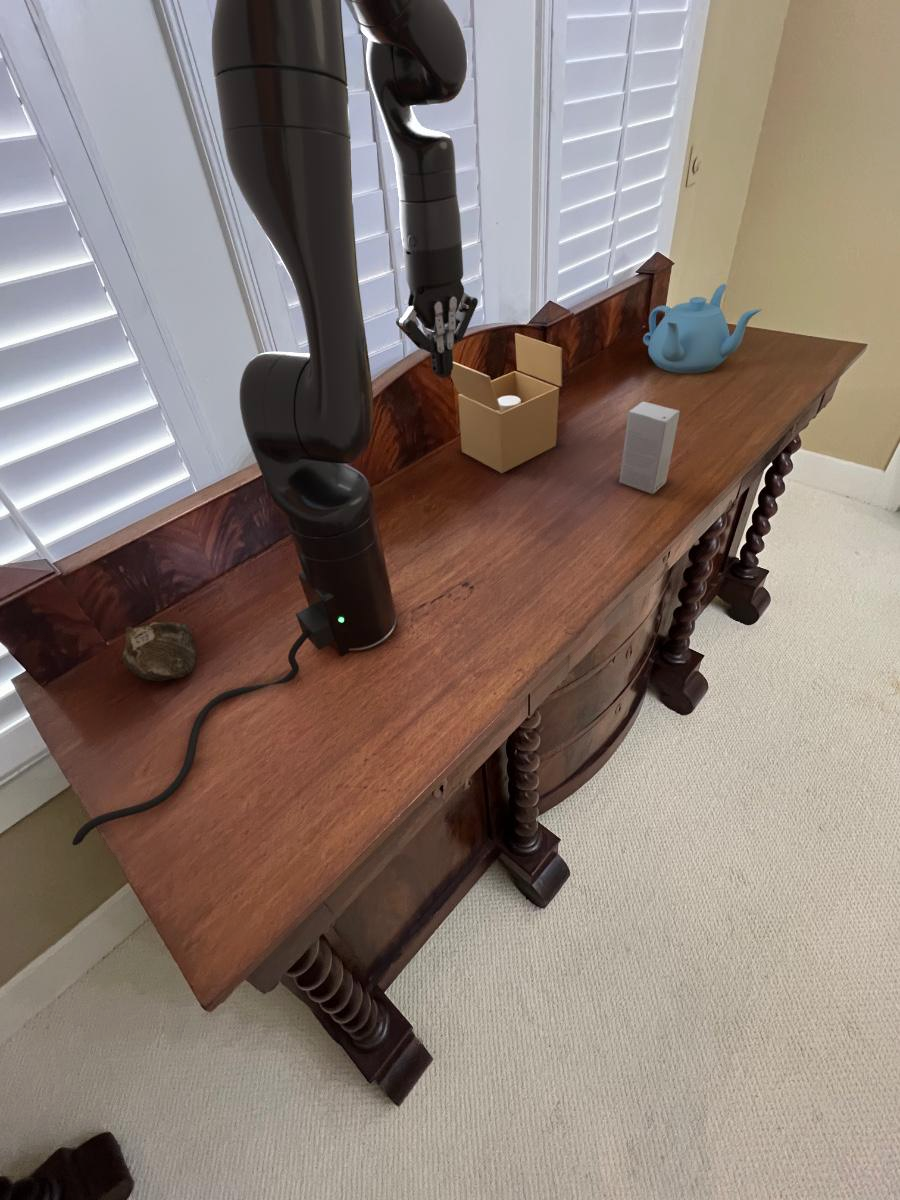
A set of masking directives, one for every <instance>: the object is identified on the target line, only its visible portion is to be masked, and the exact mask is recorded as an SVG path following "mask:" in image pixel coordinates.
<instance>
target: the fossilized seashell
mask: <svg viewBox="0 0 900 1200" xmlns="http://www.w3.org/2000/svg"><path fill="white" fill-rule="evenodd" d="M188 626H189V625H188V624H187V623H183V622H174V621H171V622H170V621H165V622H164V621H163V622H157V621H153V622H151V623H149V625H144V626H143V625H142V626H138V627H134V628H133V627H132V626H127V627H125V647H124V650H123V653H122V656H121V660H122V661H123V664H124V665H125V666H126V667H127V668H128V670H130V672H132V673H133V674H134V675H135V676H137V677H138V678H141V679H144V680H146V681H153V682H163V681H169V680H173V679H174V680H175V679H176V680H177V679H179V678H182V677H184V676H187V675H188V674H190V673H191V672H192V671H193V669H194V668H195V666H196V662H197V648H196V644H195V639H194V636H193V634H192V631H191V630H190V628H189V627H188Z"/></svg>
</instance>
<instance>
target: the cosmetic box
mask: <svg viewBox="0 0 900 1200" xmlns="http://www.w3.org/2000/svg"><path fill="white" fill-rule="evenodd" d="M680 413H681V412H680V409H675V408H670V407H666V406H662V405H659V404H655V403H651V402H648V401H641V402H640V403H639V404H637V405H635V406H634V407H632V408H631V409H630V410H629V411H628V414H627V421H626V429H625V436H624V444H623V452H622V459H621V465H620V473H619V481H618V482H619V484H622V485H626V486H628V487H631V488H633V489H636V490H639V491H642V492H645V493H648V494H650V495H654V494H655V493H657V491H658V490H659V489H661V488H662V487H663V486H664V485H666V483H667V479H668V473H669V470H670V469H669V468H670V464H671V459H672V453H673V449H674V443H675V437H676V434H677V429H678V423H679V419H680V418H679V417H680Z"/></svg>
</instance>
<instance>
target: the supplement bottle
mask: <svg viewBox="0 0 900 1200" xmlns="http://www.w3.org/2000/svg"><path fill="white" fill-rule="evenodd" d="M498 402H499V405H500V408H501V410H500V411H499V410H497V411H498V412H501V413H502V412H504V411H506V410H508V409H510V408H513V407H515V406H517V405H519V404H521V400H520V398H519V397H516V396H503V397H500V398H499V399H498Z"/></svg>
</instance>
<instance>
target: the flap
mask: <svg viewBox="0 0 900 1200" xmlns="http://www.w3.org/2000/svg"><path fill="white" fill-rule="evenodd" d="M451 372H452V374H451V375H450V377H451V380H452V383H453V385H454V387H455V391H456V392H457V393H459V394H464V395H466V396H468V397H470V398H472V399H475V400H477V401H479V402H481V403H483V404H486V405H488V406H490V407H492V408H494V409H497V410H499V411H500V410H501V408H500V405H499V402H498V399H497V396H496V393H495V391H494V388H493V385H492V382H491V381H492V379H491V376H490V375H487V374H486V373H483V372H480V371H478V370H476V369H472V368H470V367H468V366H465V365H463V364H460V363H458V362H456V361H453V370H452V371H451Z"/></svg>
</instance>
